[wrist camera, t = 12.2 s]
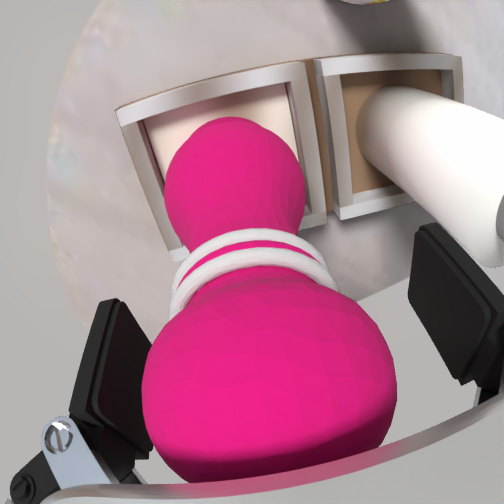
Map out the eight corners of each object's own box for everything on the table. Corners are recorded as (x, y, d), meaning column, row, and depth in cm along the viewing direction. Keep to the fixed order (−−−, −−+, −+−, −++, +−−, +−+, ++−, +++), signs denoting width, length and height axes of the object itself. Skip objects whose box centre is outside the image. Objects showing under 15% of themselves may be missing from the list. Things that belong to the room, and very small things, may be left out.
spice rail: (441, 53, 18) (466, 57, 16) (443, 176, 24) (463, 190, 22) (120, 106, 18) (107, 114, 16) (170, 241, 25) (167, 264, 22)
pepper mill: (293, 199, 22) (427, 516, 6) (191, 224, 22) (191, 563, 6) (274, 96, 18) (574, 439, 2) (158, 126, 18) (3, 536, 2)
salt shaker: (429, 82, 18) (588, 147, 7) (431, 163, 22) (556, 265, 11) (350, 88, 18) (514, 158, 7) (358, 177, 22) (477, 307, 11)
